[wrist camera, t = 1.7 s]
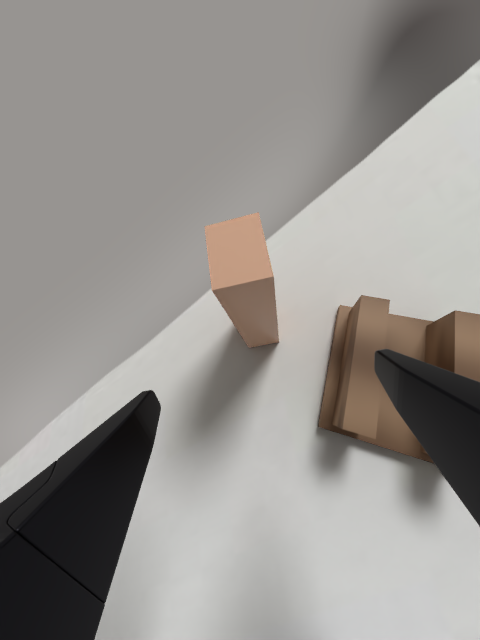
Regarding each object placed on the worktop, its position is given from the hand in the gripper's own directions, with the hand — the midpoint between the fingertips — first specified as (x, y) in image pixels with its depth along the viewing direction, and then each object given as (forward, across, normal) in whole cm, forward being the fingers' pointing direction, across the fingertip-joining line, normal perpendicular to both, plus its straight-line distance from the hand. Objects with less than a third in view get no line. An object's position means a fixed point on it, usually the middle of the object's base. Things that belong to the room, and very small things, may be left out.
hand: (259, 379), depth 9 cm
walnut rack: (+8, -10, +9) cm, 16 cm away
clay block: (+13, 0, +4) cm, 14 cm away
